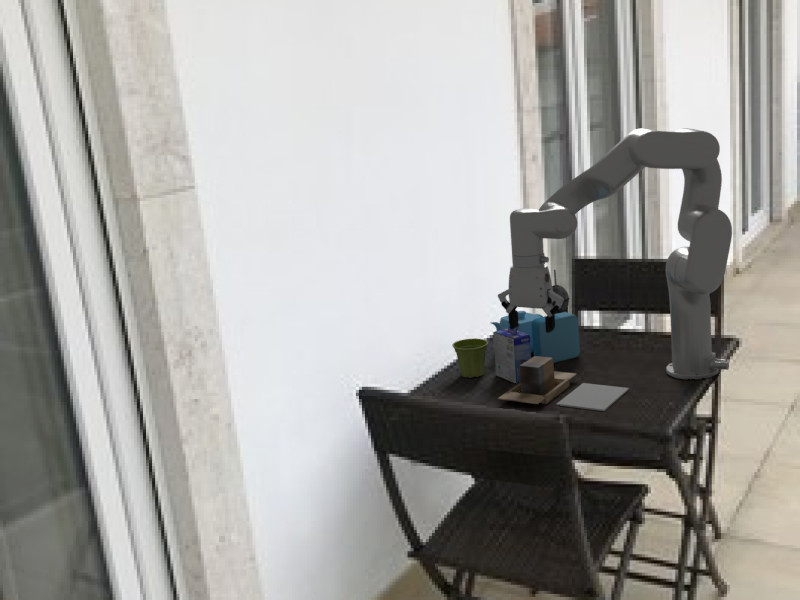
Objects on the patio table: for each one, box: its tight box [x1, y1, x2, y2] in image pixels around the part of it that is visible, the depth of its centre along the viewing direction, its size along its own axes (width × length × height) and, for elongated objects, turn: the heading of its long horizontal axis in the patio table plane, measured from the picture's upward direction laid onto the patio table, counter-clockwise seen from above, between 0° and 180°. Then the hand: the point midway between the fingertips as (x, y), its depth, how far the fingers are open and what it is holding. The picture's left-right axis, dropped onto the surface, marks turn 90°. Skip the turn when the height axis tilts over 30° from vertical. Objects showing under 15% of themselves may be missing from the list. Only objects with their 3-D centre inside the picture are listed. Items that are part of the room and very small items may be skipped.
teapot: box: [490, 310, 544, 354], centre depth 271 cm, size 12×18×12 cm
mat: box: [556, 382, 630, 412], centre depth 232 cm, size 12×15×1 cm
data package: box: [531, 312, 581, 364], centre depth 261 cm, size 12×4×12 cm, turn 112°
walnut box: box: [520, 355, 556, 396], centre depth 238 cm, size 5×8×8 cm, turn 145°
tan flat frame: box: [497, 370, 577, 405], centre depth 239 cm, size 11×22×2 cm, turn 145°
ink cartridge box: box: [492, 326, 532, 385], centre depth 250 cm, size 10×6×14 cm, turn 28°
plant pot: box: [452, 337, 489, 379], centre depth 256 cm, size 9×9×9 cm
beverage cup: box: [551, 269, 570, 314], centre depth 279 cm, size 7×7×20 cm
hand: (532, 329), depth 235 cm, fingers open, 9 cm apart
